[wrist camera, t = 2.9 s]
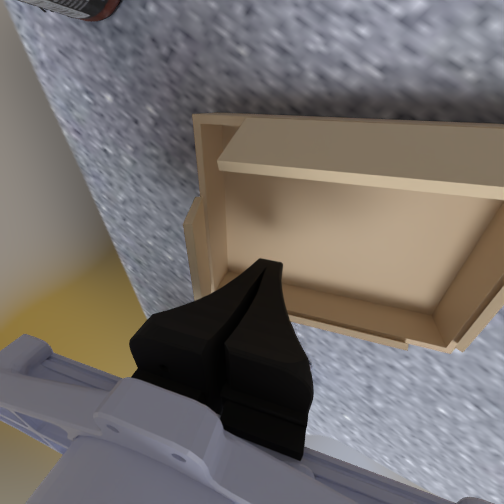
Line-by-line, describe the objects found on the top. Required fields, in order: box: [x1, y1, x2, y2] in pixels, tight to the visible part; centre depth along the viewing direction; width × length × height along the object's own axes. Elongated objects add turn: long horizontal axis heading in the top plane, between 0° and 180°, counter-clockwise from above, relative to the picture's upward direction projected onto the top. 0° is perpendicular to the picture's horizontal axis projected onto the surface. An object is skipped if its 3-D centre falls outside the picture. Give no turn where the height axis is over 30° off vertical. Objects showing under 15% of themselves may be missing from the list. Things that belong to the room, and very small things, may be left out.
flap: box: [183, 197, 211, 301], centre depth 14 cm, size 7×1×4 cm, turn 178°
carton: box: [192, 112, 504, 354], centre depth 14 cm, size 14×18×4 cm
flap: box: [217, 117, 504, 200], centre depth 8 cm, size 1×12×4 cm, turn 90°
